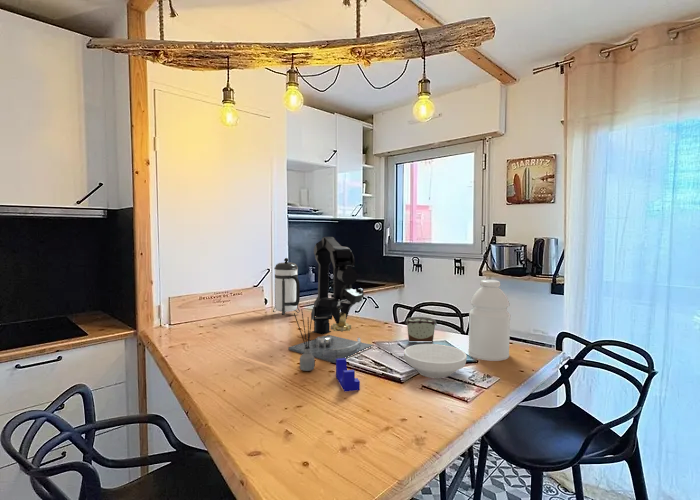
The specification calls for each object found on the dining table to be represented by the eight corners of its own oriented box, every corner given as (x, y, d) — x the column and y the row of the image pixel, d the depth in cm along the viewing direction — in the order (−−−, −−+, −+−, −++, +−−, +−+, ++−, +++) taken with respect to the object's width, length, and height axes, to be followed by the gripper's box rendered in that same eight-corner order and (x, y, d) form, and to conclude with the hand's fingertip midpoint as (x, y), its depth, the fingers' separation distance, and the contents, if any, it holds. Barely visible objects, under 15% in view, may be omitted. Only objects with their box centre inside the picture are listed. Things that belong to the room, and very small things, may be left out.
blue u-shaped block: (359, 391, 112) (359, 371, 112) (344, 393, 111) (344, 372, 111) (349, 376, 124) (350, 357, 124) (335, 377, 123) (335, 358, 123)
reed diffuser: (319, 373, 126) (320, 311, 125) (299, 377, 122) (299, 313, 121) (307, 363, 135) (307, 305, 133) (288, 367, 131) (288, 307, 130)
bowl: (429, 391, 112) (430, 367, 112) (391, 369, 130) (391, 348, 129) (480, 380, 121) (480, 357, 121) (438, 361, 139) (438, 341, 138)
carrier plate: (288, 349, 150) (288, 340, 150) (328, 337, 168) (328, 329, 168) (334, 363, 135) (334, 353, 135) (372, 347, 153) (373, 338, 153)
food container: (434, 340, 164) (435, 316, 163) (436, 345, 158) (436, 320, 157) (404, 339, 165) (404, 316, 164) (405, 343, 159) (405, 319, 158)
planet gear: (326, 329, 148) (326, 313, 147) (339, 325, 154) (339, 310, 153) (342, 332, 143) (342, 316, 143) (355, 328, 149) (355, 313, 149)
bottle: (461, 357, 142) (463, 280, 141) (478, 349, 152) (480, 277, 151) (499, 367, 133) (502, 284, 131) (515, 357, 143) (517, 280, 141)
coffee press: (267, 315, 209) (267, 258, 208) (278, 309, 225) (277, 256, 224) (299, 316, 207) (299, 259, 205) (307, 310, 222) (307, 257, 221)
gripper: (341, 286, 135) (341, 330, 136) (373, 280, 150) (372, 321, 150) (318, 283, 142) (317, 325, 143) (350, 278, 157) (350, 317, 157)
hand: (340, 322), depth 148 cm, fingers closed on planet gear, 4 cm apart
